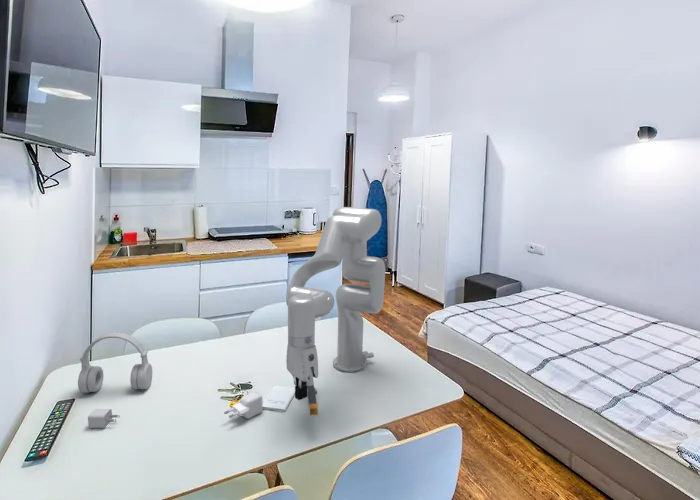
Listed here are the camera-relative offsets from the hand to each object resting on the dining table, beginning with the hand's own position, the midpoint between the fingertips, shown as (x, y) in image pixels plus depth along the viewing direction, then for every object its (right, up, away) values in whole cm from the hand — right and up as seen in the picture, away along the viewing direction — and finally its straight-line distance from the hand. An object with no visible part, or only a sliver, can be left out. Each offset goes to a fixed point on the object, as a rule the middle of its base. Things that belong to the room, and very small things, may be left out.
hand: (301, 397), depth 118 cm
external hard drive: (-8, -5, +11) cm, 15 cm away
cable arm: (+2, +1, +4) cm, 5 cm away
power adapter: (-17, -7, +1) cm, 18 cm away
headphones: (-62, -3, +15) cm, 64 cm away
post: (0, -4, +16) cm, 17 cm away
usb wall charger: (-55, -7, -3) cm, 56 cm away
